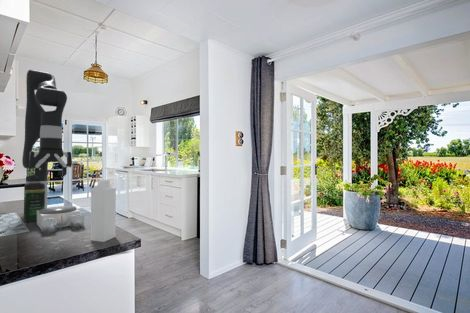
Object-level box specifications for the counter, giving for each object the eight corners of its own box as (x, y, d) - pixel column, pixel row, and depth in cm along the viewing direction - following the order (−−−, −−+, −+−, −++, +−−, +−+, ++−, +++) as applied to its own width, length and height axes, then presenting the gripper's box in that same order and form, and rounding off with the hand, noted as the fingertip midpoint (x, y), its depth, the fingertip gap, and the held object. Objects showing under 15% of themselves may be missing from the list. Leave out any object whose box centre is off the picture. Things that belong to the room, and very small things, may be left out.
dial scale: (36, 223, 118) (36, 208, 118) (72, 218, 128) (72, 204, 128) (41, 230, 107) (42, 213, 107) (80, 224, 117) (80, 209, 117)
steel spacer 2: (69, 227, 113) (69, 215, 113) (82, 225, 117) (82, 213, 117) (72, 229, 109) (72, 217, 109) (85, 227, 113) (85, 215, 113)
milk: (90, 240, 95) (90, 180, 95) (102, 235, 101) (102, 179, 101) (104, 242, 94) (104, 181, 94) (115, 237, 100) (116, 179, 100)
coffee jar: (45, 221, 122) (45, 181, 122) (23, 223, 117) (24, 182, 117) (44, 217, 130) (44, 180, 130) (23, 219, 125) (24, 181, 125)
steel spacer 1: (40, 231, 106) (41, 219, 106) (55, 229, 110) (55, 217, 110) (42, 234, 102) (43, 221, 102) (57, 231, 106) (58, 219, 106)
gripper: (69, 138, 114) (69, 175, 114) (28, 137, 104) (27, 177, 104) (73, 138, 109) (73, 176, 109) (30, 135, 99) (30, 178, 99)
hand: (51, 176), depth 106 cm, fingers open, 8 cm apart
